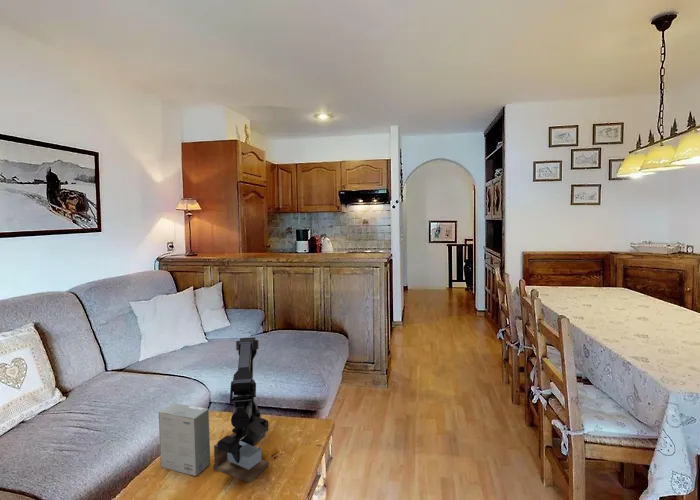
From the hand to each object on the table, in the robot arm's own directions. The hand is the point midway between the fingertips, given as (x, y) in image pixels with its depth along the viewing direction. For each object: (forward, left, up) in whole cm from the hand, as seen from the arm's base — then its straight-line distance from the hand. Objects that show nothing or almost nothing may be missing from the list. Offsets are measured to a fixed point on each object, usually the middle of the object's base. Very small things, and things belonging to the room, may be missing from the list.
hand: (244, 457), depth 133 cm
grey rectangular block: (0, 0, -1) cm, 1 cm away
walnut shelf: (-1, 0, -4) cm, 4 cm away
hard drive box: (-19, -8, -4) cm, 22 cm away
